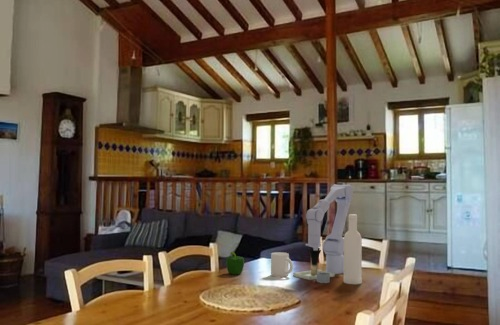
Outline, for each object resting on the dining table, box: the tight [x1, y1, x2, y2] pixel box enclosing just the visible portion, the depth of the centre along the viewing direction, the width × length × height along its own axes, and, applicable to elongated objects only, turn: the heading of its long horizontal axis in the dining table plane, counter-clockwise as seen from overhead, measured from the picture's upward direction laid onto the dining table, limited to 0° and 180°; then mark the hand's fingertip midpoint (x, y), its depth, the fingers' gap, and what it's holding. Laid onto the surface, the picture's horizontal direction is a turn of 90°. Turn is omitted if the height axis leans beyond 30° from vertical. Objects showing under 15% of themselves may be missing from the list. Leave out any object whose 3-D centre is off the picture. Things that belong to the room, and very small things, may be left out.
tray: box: [293, 269, 336, 281], centre depth 213 cm, size 16×11×2 cm
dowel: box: [310, 260, 318, 275], centre depth 213 cm, size 3×3×9 cm
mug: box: [270, 251, 294, 278], centre depth 213 cm, size 12×8×10 cm
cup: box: [316, 272, 331, 284], centre depth 201 cm, size 6×6×4 cm
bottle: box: [342, 213, 363, 285], centre depth 201 cm, size 8×8×30 cm
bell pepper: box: [225, 252, 245, 275], centre depth 218 cm, size 8×8×10 cm
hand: (314, 264), depth 213 cm, fingers open, 3 cm apart
